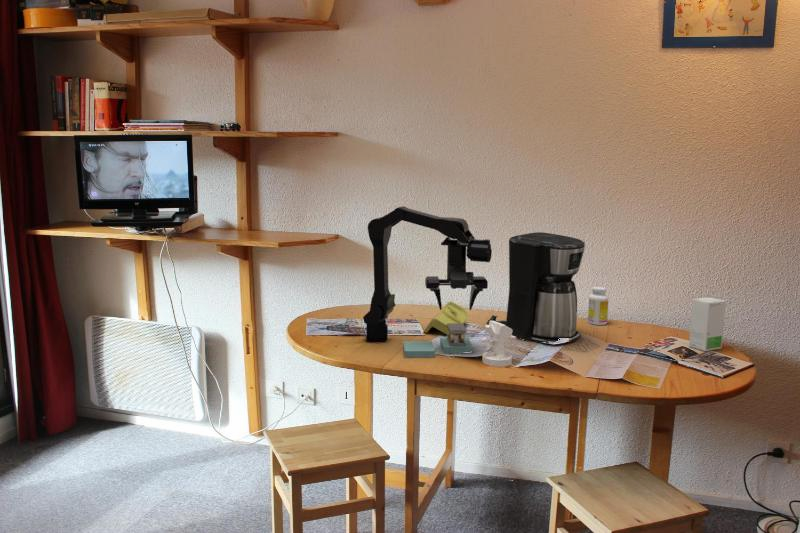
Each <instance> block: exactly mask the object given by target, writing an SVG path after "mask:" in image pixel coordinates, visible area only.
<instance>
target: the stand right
mask: <svg viewBox="0 0 800 533" xmlns="http://www.w3.org/2000/svg"><path fill="white" fill-rule="evenodd" d="M439 339H440V341H439V343H440V347H441V350H442V353H443V354H464V353H463V352H471V351H472V352H473V353H474V346H473V345H472V344H473V343H472V342H471V340H470V338H469V337H466V336H465V342H466V346H449V343H448V340H447V337H440V338H439ZM460 352H461V353H460Z"/></svg>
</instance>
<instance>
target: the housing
mask: <svg viewBox="0 0 800 533" xmlns="http://www.w3.org/2000/svg"><path fill="white" fill-rule="evenodd" d="M447 328H448V335H447V334H446V338H447V340H448V343H449V346H466V342H465V337H466V336H465V334H467V329H466V327H465V325H464V324H463V323H447ZM454 333H457V334H456V335H454Z"/></svg>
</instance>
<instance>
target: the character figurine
mask: <svg viewBox="0 0 800 533" xmlns="http://www.w3.org/2000/svg"><path fill="white" fill-rule="evenodd" d="M496 321H497V320H496ZM496 321H489V325H487V324H486V325H485V326H484V327H483V328H482V329H481V331H484V332H483V333H484V334H490V336H489V338H488V337H486V336H484V337H482V338H481V343H482V344H483V347H484V348H485V349H486V350H487V351H485V352H483V353H482V363H483V364H485V365H487V366H490V367H495V368H496V367H498V368H502V367H503V368H504V367H508V366H511V365H512V362H513V355H512V354H511V353H509V352H507V351H506V346H505V344H504V343H505V342H508V340H509V338H510V339H517V338H516V337H515V336H512V331H513V330H512V329H511V328H509V327H507V326H505V325H504V324H501V323H498V322H496ZM488 350H489V351H488Z"/></svg>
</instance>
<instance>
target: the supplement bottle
mask: <svg viewBox="0 0 800 533" xmlns="http://www.w3.org/2000/svg"><path fill="white" fill-rule="evenodd" d="M606 292H607V288H606V287H603V286H593V287H592V293H591V294H590V295H589V296H588V309H587V310H588V312H587V321H588V323H589V325H593V326H604V325H607V323H608V314H609V313H608V312H609V297H608V295H607V294H606Z"/></svg>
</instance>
